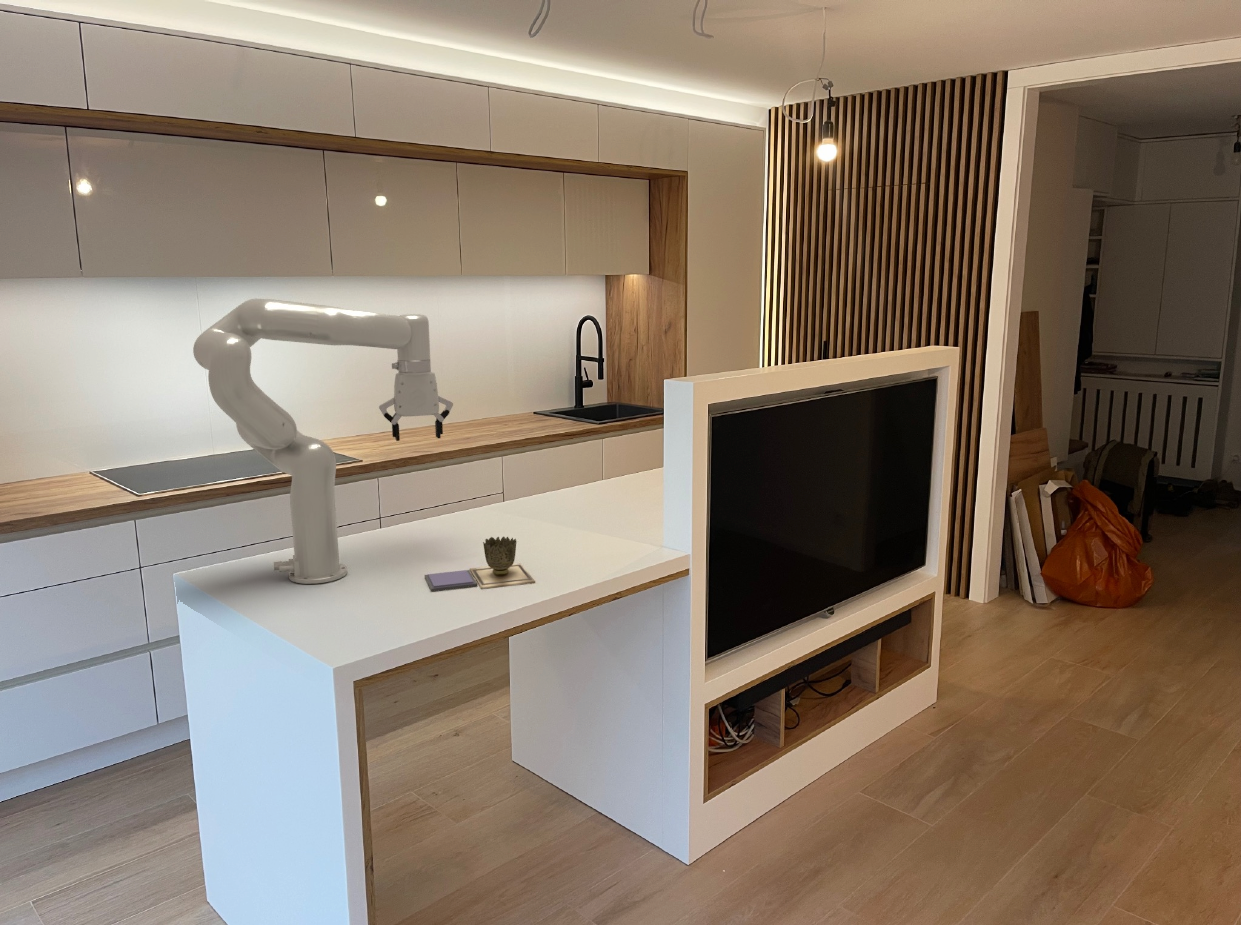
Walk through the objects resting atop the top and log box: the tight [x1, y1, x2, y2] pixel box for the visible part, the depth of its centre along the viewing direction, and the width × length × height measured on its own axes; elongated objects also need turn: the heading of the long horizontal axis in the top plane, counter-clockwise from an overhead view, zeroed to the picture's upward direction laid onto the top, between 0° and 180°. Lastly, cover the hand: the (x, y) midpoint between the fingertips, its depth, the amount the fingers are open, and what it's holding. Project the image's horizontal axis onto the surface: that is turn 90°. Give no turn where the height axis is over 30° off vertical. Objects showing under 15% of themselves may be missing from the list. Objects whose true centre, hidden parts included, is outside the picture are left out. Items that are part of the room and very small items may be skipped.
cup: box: [482, 536, 518, 576], centre depth 209 cm, size 8×7×8 cm
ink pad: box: [424, 569, 478, 593], centre depth 206 cm, size 10×10×1 cm
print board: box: [468, 562, 536, 590], centre depth 210 cm, size 12×14×1 cm
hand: (418, 438), depth 223 cm, fingers open, 9 cm apart
